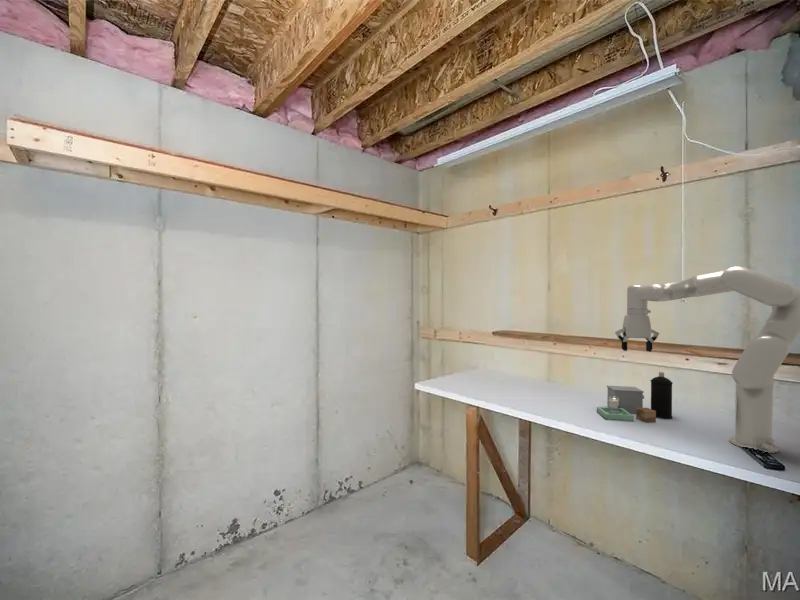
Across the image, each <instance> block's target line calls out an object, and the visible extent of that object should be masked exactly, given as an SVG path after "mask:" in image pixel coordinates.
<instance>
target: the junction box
mask: <svg viewBox="0 0 800 600" xmlns="http://www.w3.org/2000/svg"><path fill="white" fill-rule="evenodd" d="M606 388H607V400H606V403H607V404H606V405H607V406H606V407H609V397H610V396H612V395H614V396H617V397H619V400H620V403H619V408H623V409H624V410H626V411H627V412H629V413H630V414H635V413H636V408H644V407H643V406H644V405H643V402H644V399H645V395H644V391H643V390H642V389H640V388H638V387H636V386H626V385H621V386H620V385H606Z"/></svg>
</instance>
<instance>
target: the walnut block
mask: <svg viewBox="0 0 800 600" xmlns="http://www.w3.org/2000/svg"><path fill="white" fill-rule="evenodd" d="M635 419H636V420H638V421H640V422H642V423H644V422H645V424H649V423H657V417H656V411H654V410H652V409H651V408H649V407H643V408H636V414H635Z"/></svg>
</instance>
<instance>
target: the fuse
mask: <svg viewBox="0 0 800 600" xmlns="http://www.w3.org/2000/svg"><path fill="white" fill-rule="evenodd" d="M619 403H620V400H619V397H617V396H614V395H612V396H610V397H609V414H619Z"/></svg>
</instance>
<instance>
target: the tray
mask: <svg viewBox="0 0 800 600" xmlns="http://www.w3.org/2000/svg"><path fill="white" fill-rule="evenodd" d="M596 412H598V414H599V415H600V416H601V417H602V418H603V419H604V420H606V421H617V420H618V421H620V422H634V416H635V415H633V413H629V412H627V411H626V410H624V409H623V408H619V414H609V407H607V406H596Z"/></svg>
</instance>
